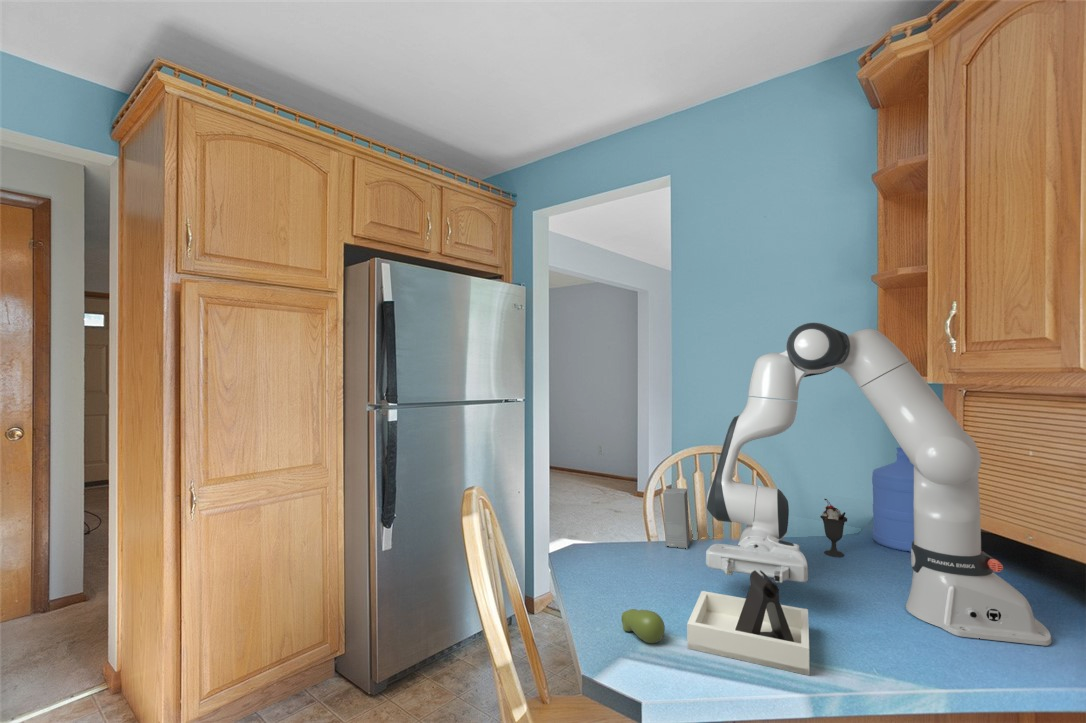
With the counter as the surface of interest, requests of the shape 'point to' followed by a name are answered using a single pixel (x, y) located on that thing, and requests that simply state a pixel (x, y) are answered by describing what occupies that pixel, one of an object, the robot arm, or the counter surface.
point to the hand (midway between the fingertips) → (752, 574)
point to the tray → (747, 634)
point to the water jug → (894, 503)
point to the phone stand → (763, 609)
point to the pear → (644, 624)
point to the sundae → (833, 528)
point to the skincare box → (676, 517)
